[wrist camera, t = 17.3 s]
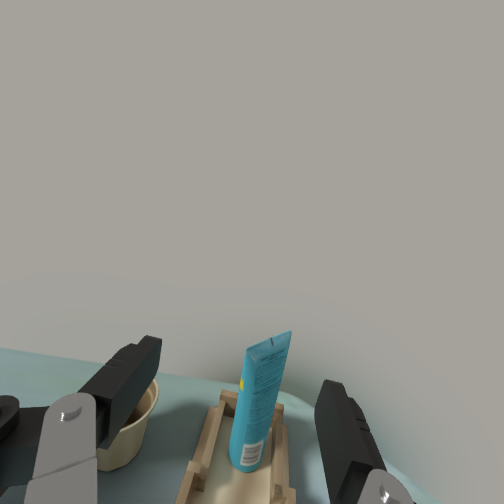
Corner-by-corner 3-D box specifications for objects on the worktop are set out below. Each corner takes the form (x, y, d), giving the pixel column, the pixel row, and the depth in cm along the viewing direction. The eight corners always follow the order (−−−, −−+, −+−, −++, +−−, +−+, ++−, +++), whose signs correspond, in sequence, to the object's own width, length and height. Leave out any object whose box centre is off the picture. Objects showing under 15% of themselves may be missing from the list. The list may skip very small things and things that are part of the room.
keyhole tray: (134, 643, 19) (137, 611, 18) (208, 410, 40) (212, 387, 38) (291, 693, 19) (307, 665, 17) (286, 430, 39) (293, 406, 37)
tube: (251, 424, 38) (276, 319, 32) (274, 450, 34) (306, 339, 29) (212, 456, 32) (235, 337, 27) (235, 491, 29) (266, 364, 24)
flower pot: (98, 411, 36) (98, 365, 34) (162, 414, 38) (166, 370, 35) (56, 487, 27) (51, 433, 25) (141, 488, 29) (145, 436, 26)
